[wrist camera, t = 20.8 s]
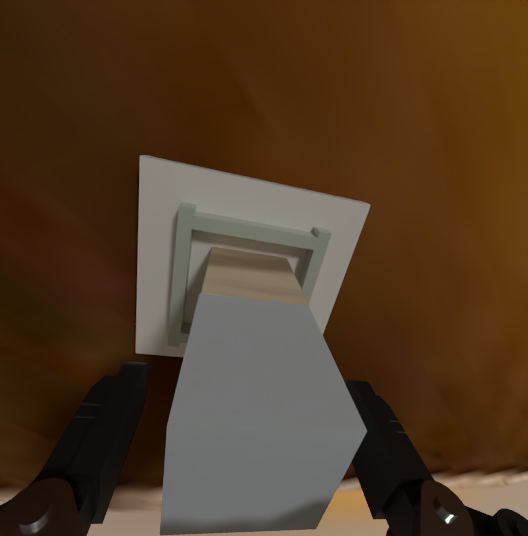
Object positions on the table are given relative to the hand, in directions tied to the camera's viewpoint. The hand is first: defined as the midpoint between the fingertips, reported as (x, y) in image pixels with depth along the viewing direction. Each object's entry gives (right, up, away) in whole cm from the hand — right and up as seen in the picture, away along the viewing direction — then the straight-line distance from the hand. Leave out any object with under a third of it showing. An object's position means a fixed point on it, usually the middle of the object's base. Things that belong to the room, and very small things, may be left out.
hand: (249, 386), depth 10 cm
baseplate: (-1, +4, +9) cm, 10 cm away
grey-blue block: (0, +1, +2) cm, 3 cm away
